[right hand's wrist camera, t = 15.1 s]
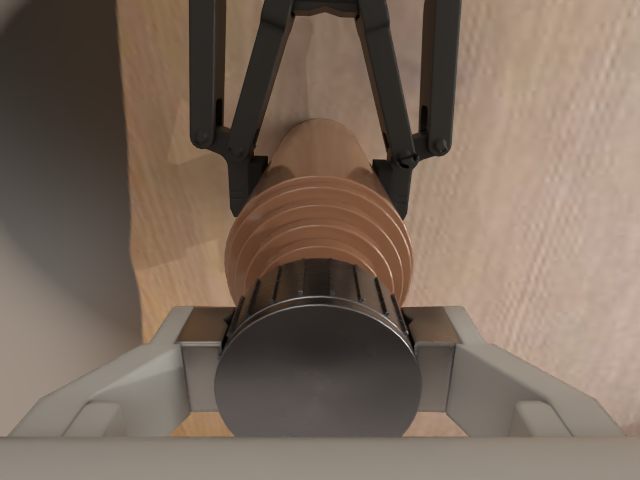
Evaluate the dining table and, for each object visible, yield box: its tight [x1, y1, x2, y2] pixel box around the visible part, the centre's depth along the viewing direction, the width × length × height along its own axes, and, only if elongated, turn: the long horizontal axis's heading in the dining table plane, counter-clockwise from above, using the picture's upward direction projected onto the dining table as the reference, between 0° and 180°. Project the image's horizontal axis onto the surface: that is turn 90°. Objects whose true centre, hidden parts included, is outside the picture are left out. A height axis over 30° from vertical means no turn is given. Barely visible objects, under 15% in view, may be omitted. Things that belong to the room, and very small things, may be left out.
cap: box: [214, 258, 422, 437], centre depth 9 cm, size 4×4×2 cm
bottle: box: [224, 119, 414, 308], centre depth 19 cm, size 6×6×23 cm
